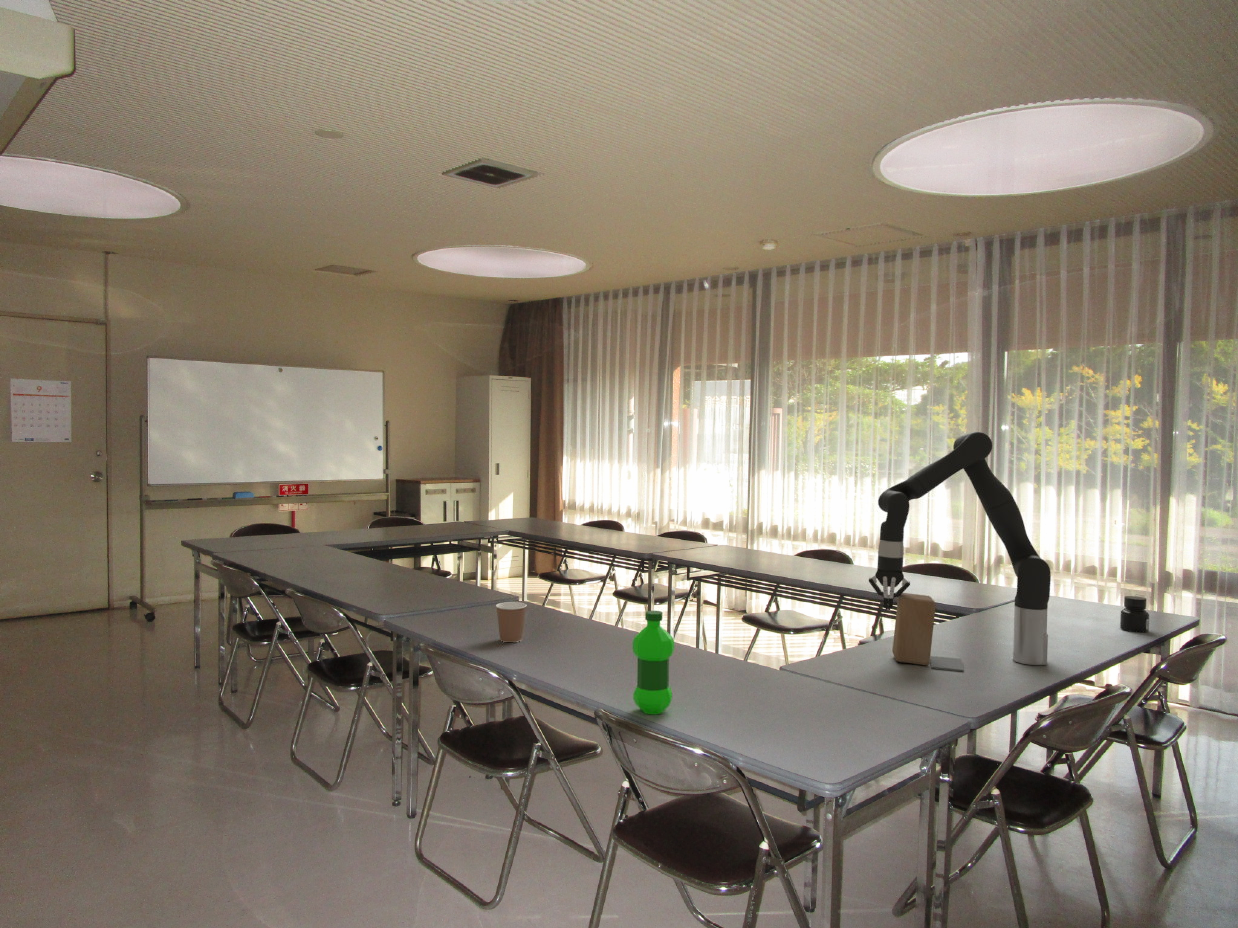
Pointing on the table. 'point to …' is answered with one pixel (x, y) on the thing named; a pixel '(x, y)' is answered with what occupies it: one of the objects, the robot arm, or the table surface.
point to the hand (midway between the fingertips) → (887, 609)
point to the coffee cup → (511, 620)
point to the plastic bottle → (653, 665)
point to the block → (914, 628)
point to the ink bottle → (1134, 615)
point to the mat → (946, 663)
